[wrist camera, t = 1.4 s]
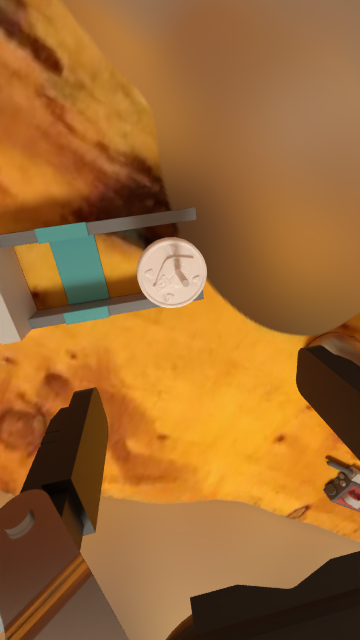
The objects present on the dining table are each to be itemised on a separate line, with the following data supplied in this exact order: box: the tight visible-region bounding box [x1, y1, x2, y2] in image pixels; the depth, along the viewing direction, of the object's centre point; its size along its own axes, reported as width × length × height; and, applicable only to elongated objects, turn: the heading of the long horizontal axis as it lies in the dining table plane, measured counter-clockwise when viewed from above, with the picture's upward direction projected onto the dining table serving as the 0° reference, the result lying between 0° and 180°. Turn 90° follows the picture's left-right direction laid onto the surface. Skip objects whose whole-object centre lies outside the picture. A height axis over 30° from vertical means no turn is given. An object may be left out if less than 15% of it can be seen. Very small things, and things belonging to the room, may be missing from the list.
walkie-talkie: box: [323, 461, 360, 512], centre depth 55 cm, size 9×4×20 cm
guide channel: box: [0, 208, 204, 345], centre depth 28 cm, size 22×11×6 cm, turn 97°
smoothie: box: [137, 237, 207, 308], centre depth 25 cm, size 6×6×14 cm
